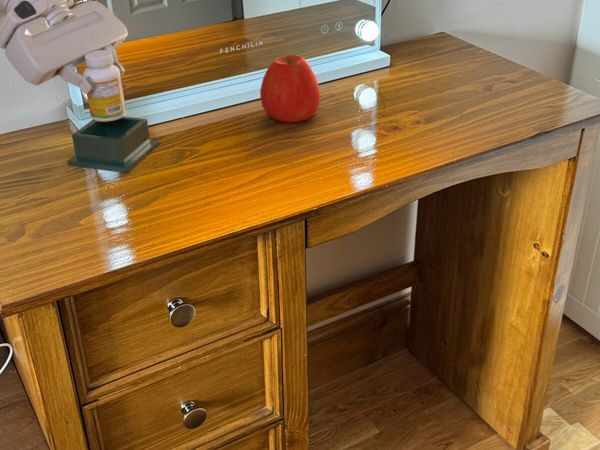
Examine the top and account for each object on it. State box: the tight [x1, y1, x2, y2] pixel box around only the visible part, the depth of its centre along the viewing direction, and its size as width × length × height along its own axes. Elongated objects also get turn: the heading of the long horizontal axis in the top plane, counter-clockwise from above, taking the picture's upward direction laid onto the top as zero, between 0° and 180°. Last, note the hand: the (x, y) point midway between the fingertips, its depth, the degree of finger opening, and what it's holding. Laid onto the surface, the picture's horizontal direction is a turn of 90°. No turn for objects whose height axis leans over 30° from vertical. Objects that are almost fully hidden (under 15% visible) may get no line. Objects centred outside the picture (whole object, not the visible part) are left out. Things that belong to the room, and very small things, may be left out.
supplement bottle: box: [82, 50, 127, 122], centre depth 115 cm, size 5×5×10 cm
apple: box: [259, 54, 321, 124], centre depth 130 cm, size 10×10×10 cm
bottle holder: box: [66, 116, 160, 174], centre depth 120 cm, size 10×10×5 cm
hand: (106, 82), depth 115 cm, fingers closed on supplement bottle, 5 cm apart
